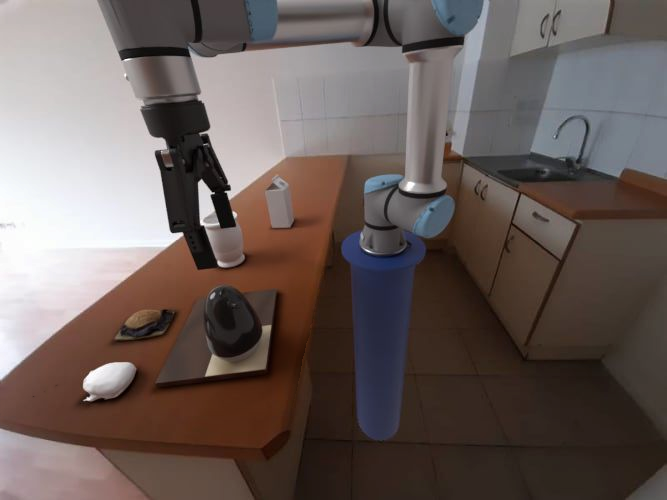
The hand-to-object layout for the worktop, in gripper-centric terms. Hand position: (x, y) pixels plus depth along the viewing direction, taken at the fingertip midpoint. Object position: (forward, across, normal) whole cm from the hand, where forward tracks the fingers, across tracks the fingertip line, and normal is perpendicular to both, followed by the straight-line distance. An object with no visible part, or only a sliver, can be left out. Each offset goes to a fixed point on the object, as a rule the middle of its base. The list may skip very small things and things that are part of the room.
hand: (219, 245), depth 46 cm
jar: (+24, -35, -12) cm, 44 cm away
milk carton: (+25, -59, +4) cm, 64 cm away
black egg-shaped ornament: (+22, +2, -2) cm, 23 cm away
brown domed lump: (+24, -9, -26) cm, 36 cm away
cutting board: (+24, -4, -6) cm, 25 cm away
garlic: (+24, +6, -25) cm, 35 cm away
